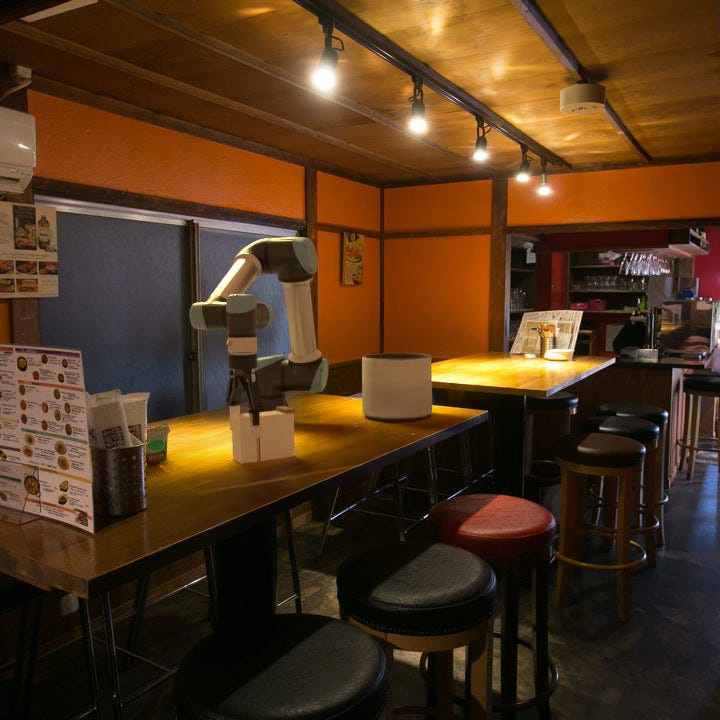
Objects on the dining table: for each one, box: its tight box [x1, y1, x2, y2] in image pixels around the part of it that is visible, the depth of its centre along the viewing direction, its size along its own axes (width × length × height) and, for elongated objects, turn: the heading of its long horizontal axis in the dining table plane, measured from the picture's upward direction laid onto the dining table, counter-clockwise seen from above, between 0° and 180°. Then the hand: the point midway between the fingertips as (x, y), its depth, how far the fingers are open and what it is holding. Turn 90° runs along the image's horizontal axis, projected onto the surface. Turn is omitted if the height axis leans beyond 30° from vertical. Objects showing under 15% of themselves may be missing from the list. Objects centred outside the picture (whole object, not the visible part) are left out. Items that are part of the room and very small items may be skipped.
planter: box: [361, 352, 433, 422], centre depth 242 cm, size 25×25×22 cm
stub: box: [231, 412, 260, 465], centre depth 177 cm, size 6×5×12 cm
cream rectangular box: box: [258, 406, 296, 462], centre depth 181 cm, size 6×10×13 cm, turn 122°
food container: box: [146, 421, 171, 467], centre depth 178 cm, size 12×6×10 cm, turn 148°
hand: (244, 433), depth 176 cm, fingers open, 13 cm apart
